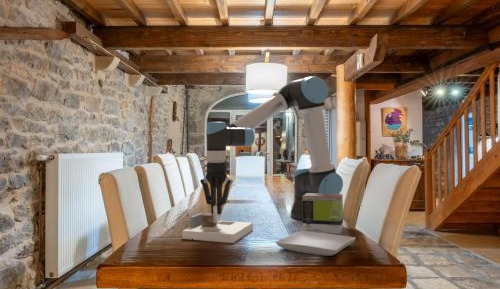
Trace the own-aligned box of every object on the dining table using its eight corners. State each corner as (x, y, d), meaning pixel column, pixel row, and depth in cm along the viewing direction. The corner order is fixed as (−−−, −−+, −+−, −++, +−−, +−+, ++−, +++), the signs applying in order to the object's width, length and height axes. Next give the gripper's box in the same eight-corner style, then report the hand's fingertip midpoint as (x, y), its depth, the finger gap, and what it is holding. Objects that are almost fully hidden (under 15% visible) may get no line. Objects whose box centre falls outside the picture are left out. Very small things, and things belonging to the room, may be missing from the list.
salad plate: (300, 238, 152) (300, 229, 152) (356, 246, 141) (356, 236, 141) (274, 251, 134) (274, 241, 134) (336, 261, 123) (336, 250, 123)
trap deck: (252, 230, 165) (252, 212, 165) (233, 242, 144) (233, 223, 144) (207, 226, 171) (207, 210, 171) (182, 238, 151) (182, 219, 151)
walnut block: (216, 225, 160) (216, 213, 160) (212, 227, 156) (212, 215, 156) (206, 224, 162) (206, 213, 162) (201, 226, 158) (201, 215, 158)
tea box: (343, 229, 166) (343, 193, 166) (340, 235, 157) (340, 196, 157) (306, 227, 171) (306, 192, 171) (301, 232, 162) (301, 195, 162)
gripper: (235, 161, 159) (235, 221, 160) (205, 161, 164) (205, 219, 164) (228, 162, 152) (228, 225, 152) (196, 161, 157) (196, 223, 157)
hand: (216, 222), depth 158 cm, fingers closed
